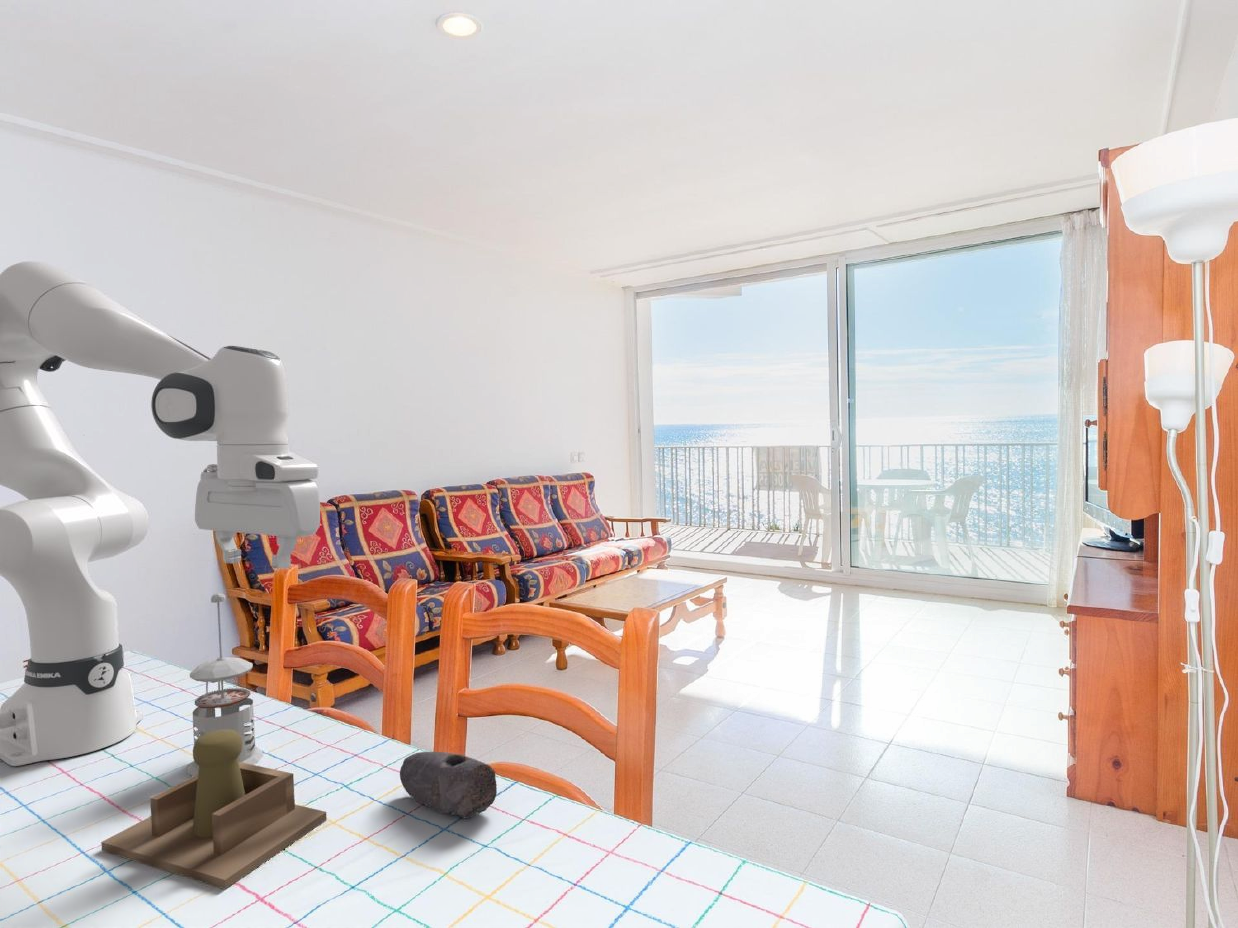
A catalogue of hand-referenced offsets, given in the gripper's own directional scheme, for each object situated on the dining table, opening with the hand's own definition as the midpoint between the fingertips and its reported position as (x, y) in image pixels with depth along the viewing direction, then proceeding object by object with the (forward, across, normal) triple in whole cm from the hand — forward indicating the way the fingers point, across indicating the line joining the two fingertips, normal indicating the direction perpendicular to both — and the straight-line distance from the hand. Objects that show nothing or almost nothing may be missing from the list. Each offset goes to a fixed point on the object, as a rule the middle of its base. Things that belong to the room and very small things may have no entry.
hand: (256, 565), depth 97 cm
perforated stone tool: (+29, +29, +2) cm, 42 cm away
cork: (+29, +8, -12) cm, 32 cm away
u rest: (+30, +8, -12) cm, 33 cm away
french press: (+30, -10, +2) cm, 32 cm away
